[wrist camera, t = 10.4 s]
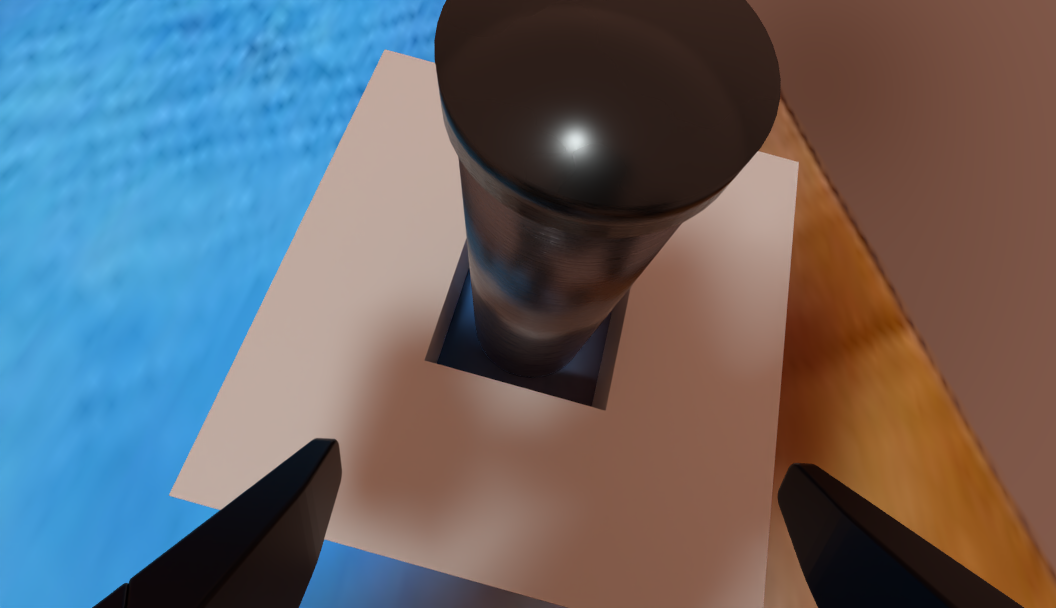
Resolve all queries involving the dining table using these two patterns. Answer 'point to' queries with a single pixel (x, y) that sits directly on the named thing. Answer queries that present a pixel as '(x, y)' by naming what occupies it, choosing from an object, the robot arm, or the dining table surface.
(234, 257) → the dining table surface
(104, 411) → the dining table surface
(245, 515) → the robot arm
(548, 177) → the tube
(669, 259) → the mount plate
